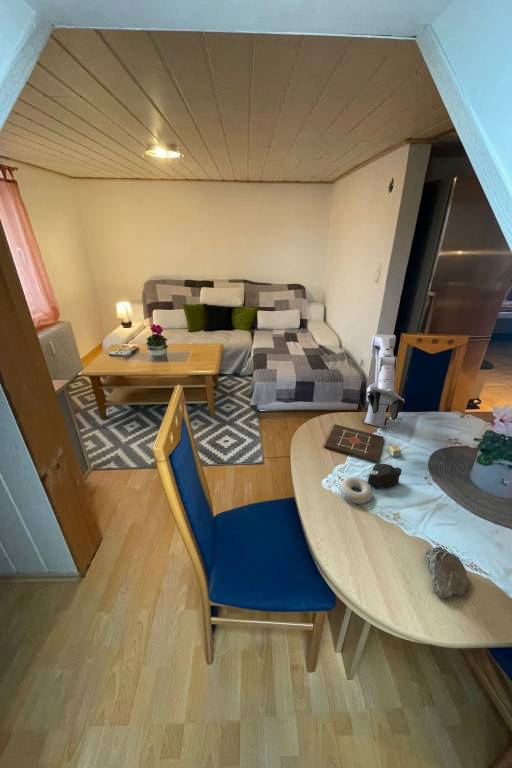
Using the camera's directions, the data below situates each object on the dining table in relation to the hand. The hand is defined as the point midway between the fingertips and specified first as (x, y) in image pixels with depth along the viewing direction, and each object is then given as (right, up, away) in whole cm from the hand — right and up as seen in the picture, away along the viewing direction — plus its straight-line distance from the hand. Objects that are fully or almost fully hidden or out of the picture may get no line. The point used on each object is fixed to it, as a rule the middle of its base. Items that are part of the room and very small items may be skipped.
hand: (384, 415), depth 109 cm
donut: (-14, -25, -10) cm, 30 cm away
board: (-7, -12, +13) cm, 19 cm away
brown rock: (0, -36, -34) cm, 50 cm away
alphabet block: (+6, -16, +6) cm, 18 cm away
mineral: (-4, -22, -5) cm, 23 cm away
